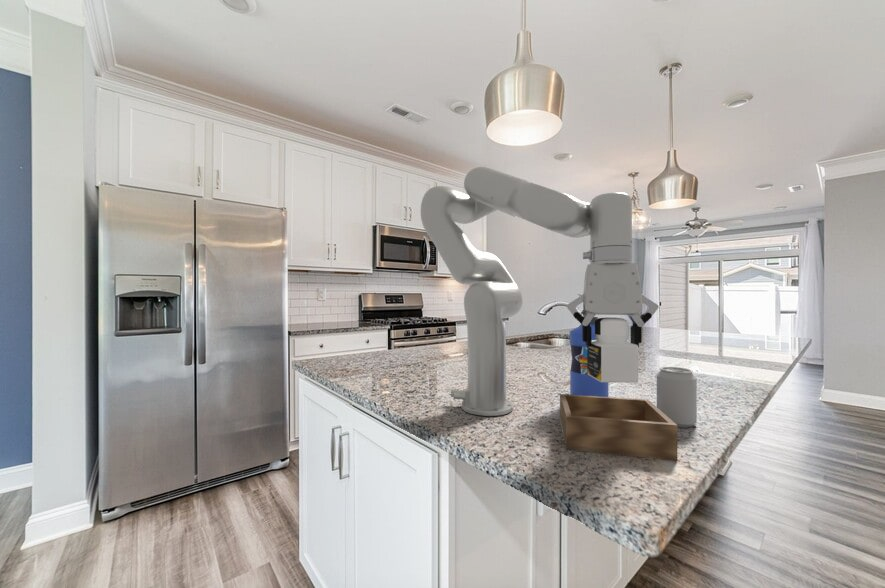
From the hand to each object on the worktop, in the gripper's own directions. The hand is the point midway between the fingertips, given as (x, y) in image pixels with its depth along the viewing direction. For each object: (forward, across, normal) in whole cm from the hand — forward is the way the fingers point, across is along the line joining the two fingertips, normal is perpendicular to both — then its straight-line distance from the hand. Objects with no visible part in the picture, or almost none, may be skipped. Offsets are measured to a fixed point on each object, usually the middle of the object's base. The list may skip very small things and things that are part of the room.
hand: (611, 345), depth 73 cm
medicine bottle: (+7, 0, 0) cm, 7 cm away
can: (+19, +16, +13) cm, 28 cm away
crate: (+18, 0, 0) cm, 18 cm away
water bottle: (+18, -1, +21) cm, 28 cm away
